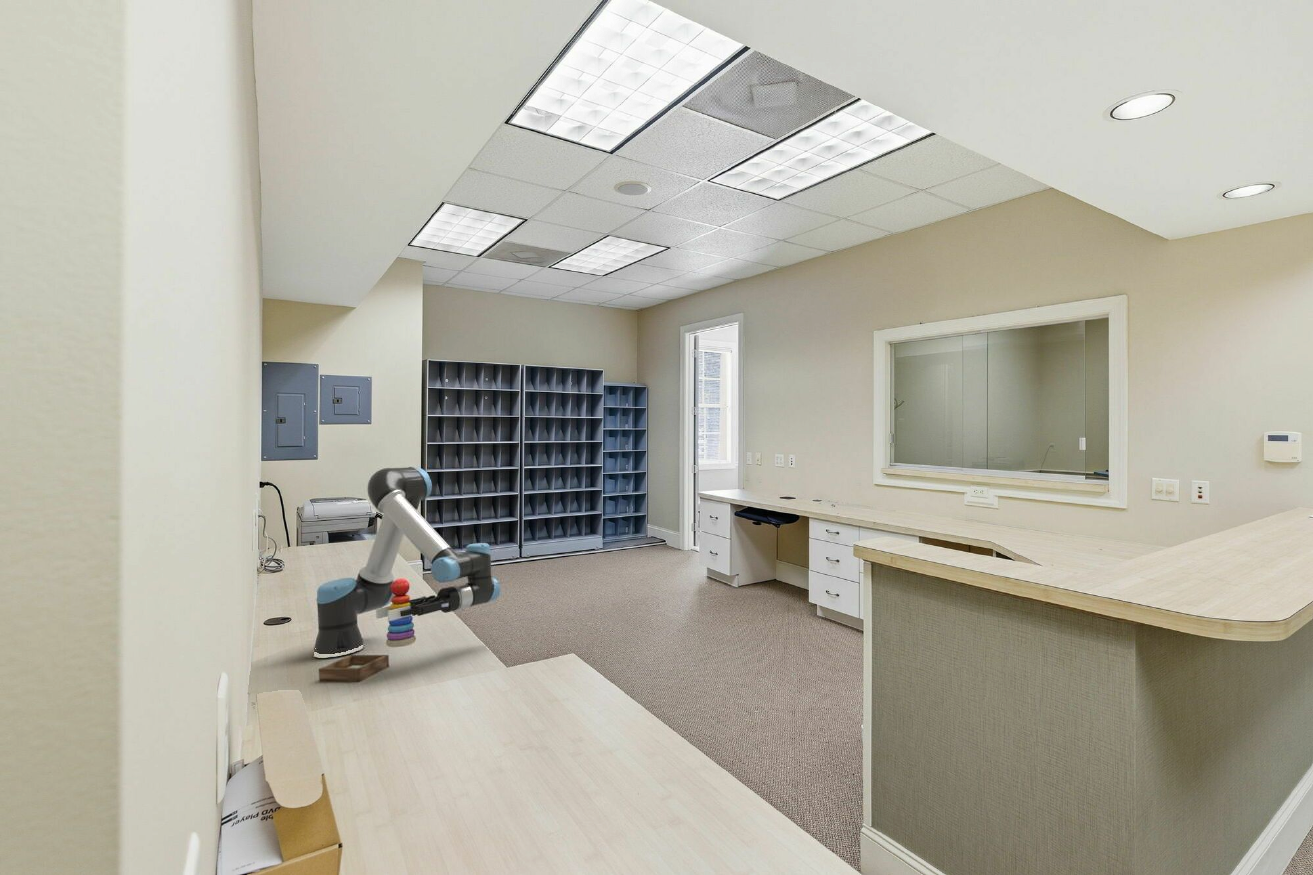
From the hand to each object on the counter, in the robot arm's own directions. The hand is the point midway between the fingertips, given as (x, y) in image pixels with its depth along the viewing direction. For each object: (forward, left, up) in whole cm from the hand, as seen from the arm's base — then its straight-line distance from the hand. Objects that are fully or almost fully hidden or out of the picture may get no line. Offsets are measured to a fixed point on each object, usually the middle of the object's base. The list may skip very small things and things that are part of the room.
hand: (382, 614), depth 176 cm
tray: (-3, -12, -18) cm, 22 cm away
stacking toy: (-5, +2, -10) cm, 11 cm away
